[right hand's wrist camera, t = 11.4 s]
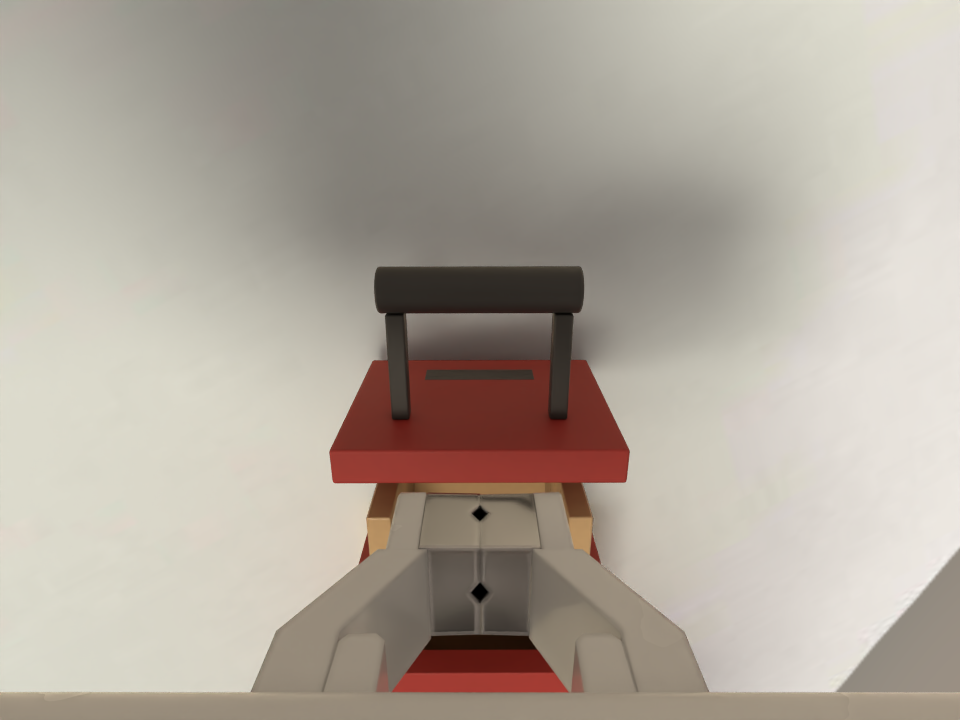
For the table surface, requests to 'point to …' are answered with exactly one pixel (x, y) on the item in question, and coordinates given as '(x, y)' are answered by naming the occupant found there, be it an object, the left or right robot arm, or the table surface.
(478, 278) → the drawer
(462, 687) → the red drawer cabinet
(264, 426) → the table surface
